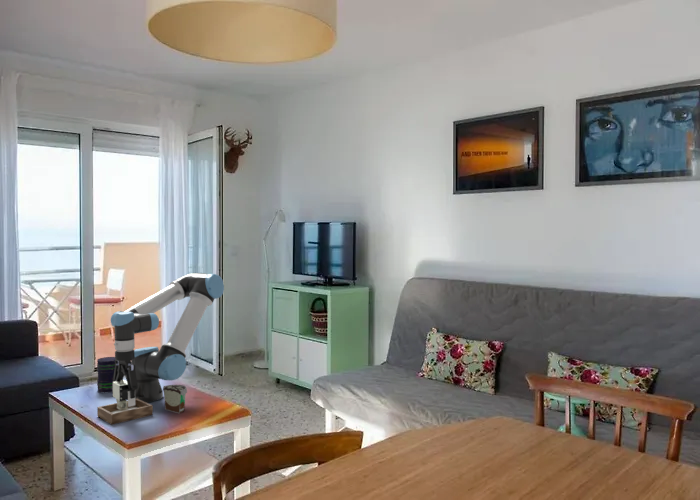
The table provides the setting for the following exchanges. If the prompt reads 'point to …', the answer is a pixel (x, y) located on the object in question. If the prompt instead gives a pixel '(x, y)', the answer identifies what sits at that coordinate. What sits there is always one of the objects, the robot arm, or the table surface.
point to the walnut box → (124, 412)
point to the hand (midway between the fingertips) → (125, 402)
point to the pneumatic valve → (120, 393)
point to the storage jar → (105, 373)
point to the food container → (175, 398)
